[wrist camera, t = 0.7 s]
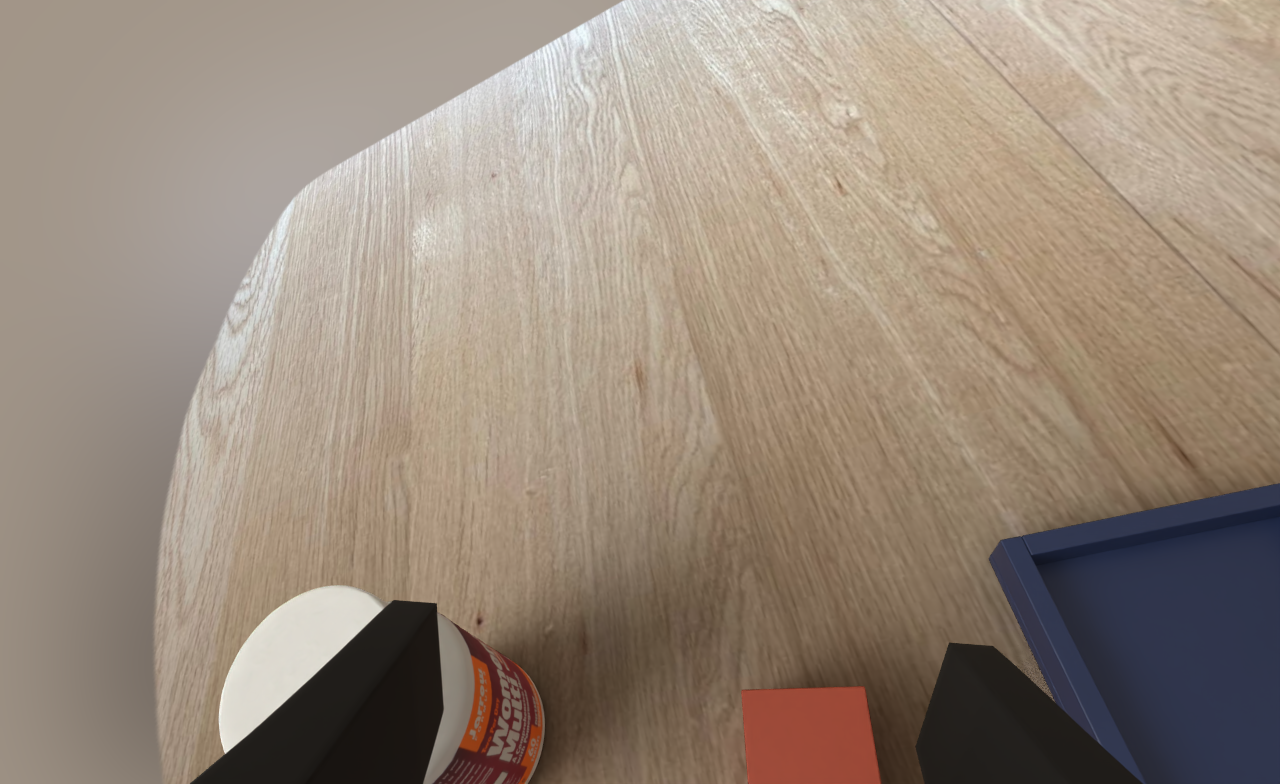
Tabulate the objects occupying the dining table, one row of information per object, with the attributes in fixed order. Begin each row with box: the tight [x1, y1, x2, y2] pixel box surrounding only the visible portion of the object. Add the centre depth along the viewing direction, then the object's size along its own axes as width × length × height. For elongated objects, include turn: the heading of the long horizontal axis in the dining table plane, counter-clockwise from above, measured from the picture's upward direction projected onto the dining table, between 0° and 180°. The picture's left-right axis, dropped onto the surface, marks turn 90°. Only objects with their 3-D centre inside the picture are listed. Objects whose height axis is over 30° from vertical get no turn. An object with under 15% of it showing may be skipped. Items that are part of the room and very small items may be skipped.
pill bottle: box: [219, 585, 545, 784], centre depth 22 cm, size 6×6×11 cm
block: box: [741, 686, 881, 784], centre depth 22 cm, size 4×4×4 cm
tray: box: [989, 483, 1280, 784], centre depth 22 cm, size 12×12×2 cm
